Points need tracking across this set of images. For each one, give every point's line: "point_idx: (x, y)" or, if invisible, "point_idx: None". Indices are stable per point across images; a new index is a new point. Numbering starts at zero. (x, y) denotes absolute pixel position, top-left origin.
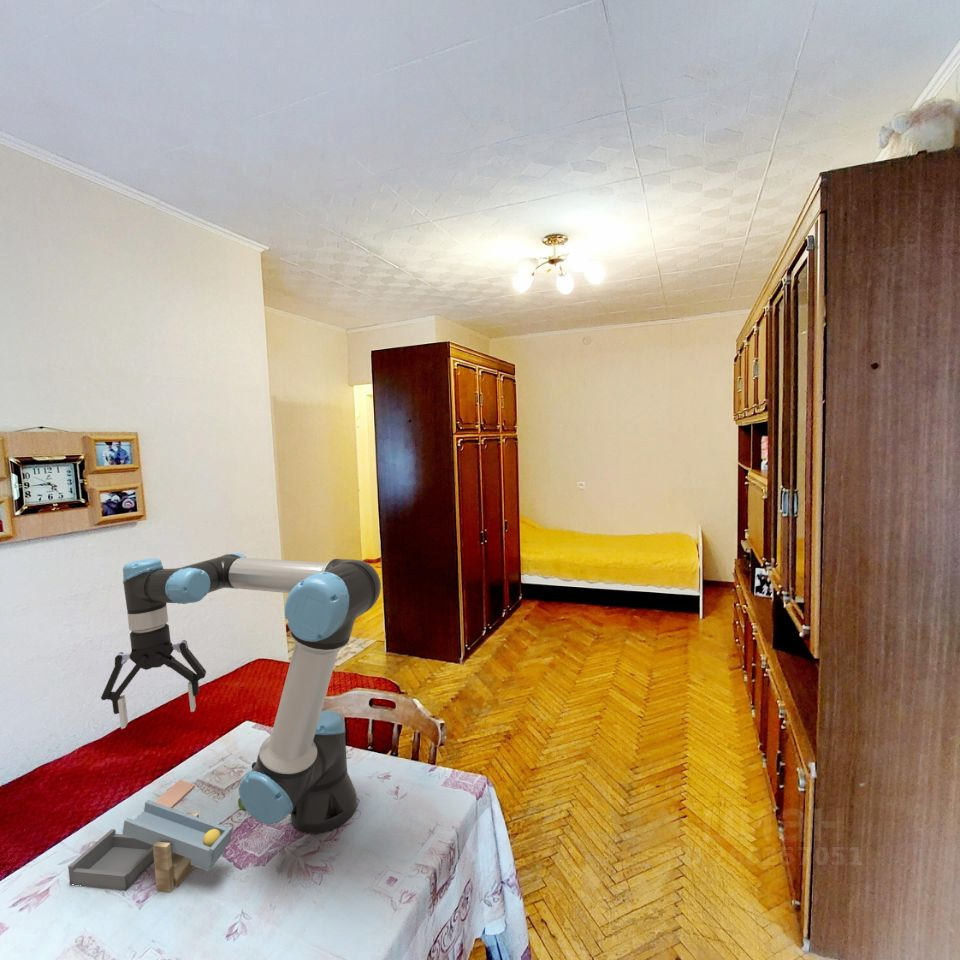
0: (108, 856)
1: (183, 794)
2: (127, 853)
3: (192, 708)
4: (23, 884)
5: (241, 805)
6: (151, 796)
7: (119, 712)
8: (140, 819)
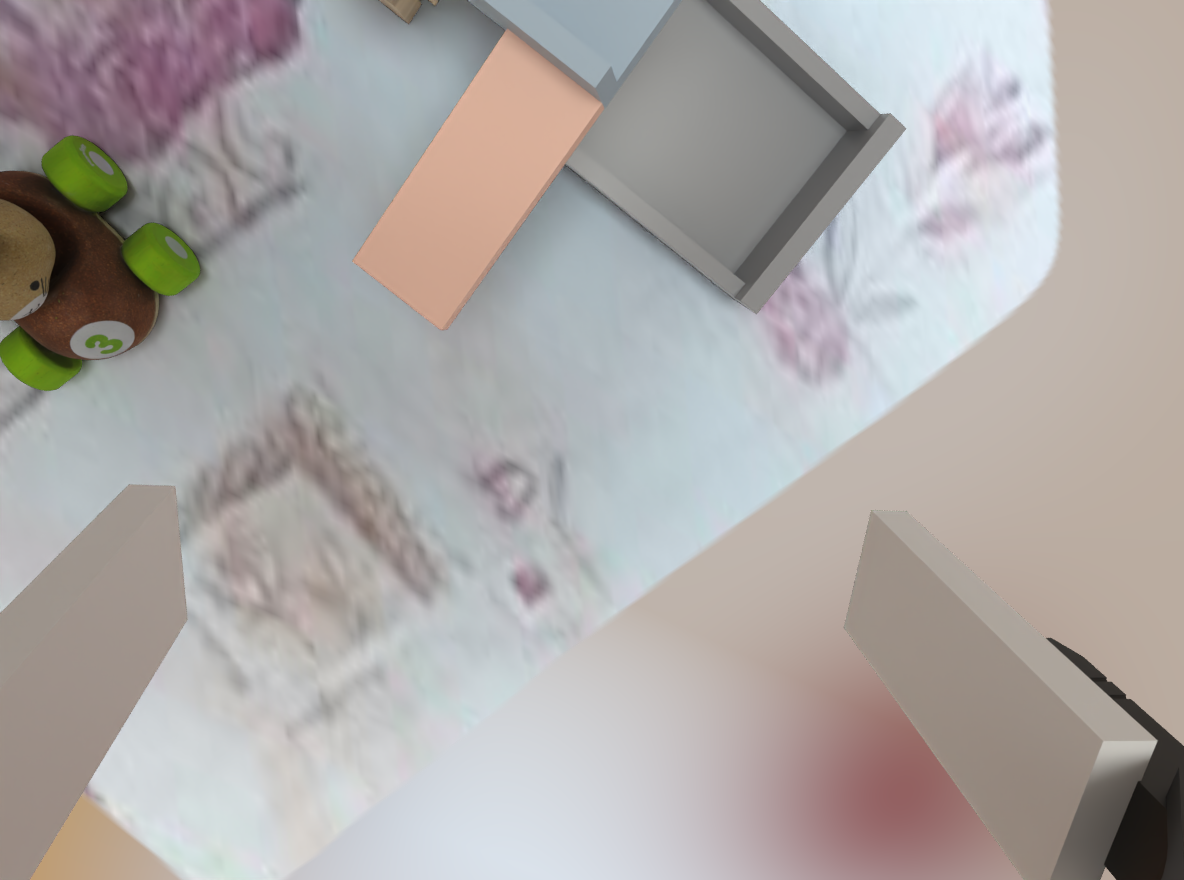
0: (746, 218)
1: (409, 185)
2: (674, 191)
3: (129, 502)
4: (1018, 246)
5: (180, 248)
6: (613, 573)
7: (1018, 618)
8: (628, 10)
